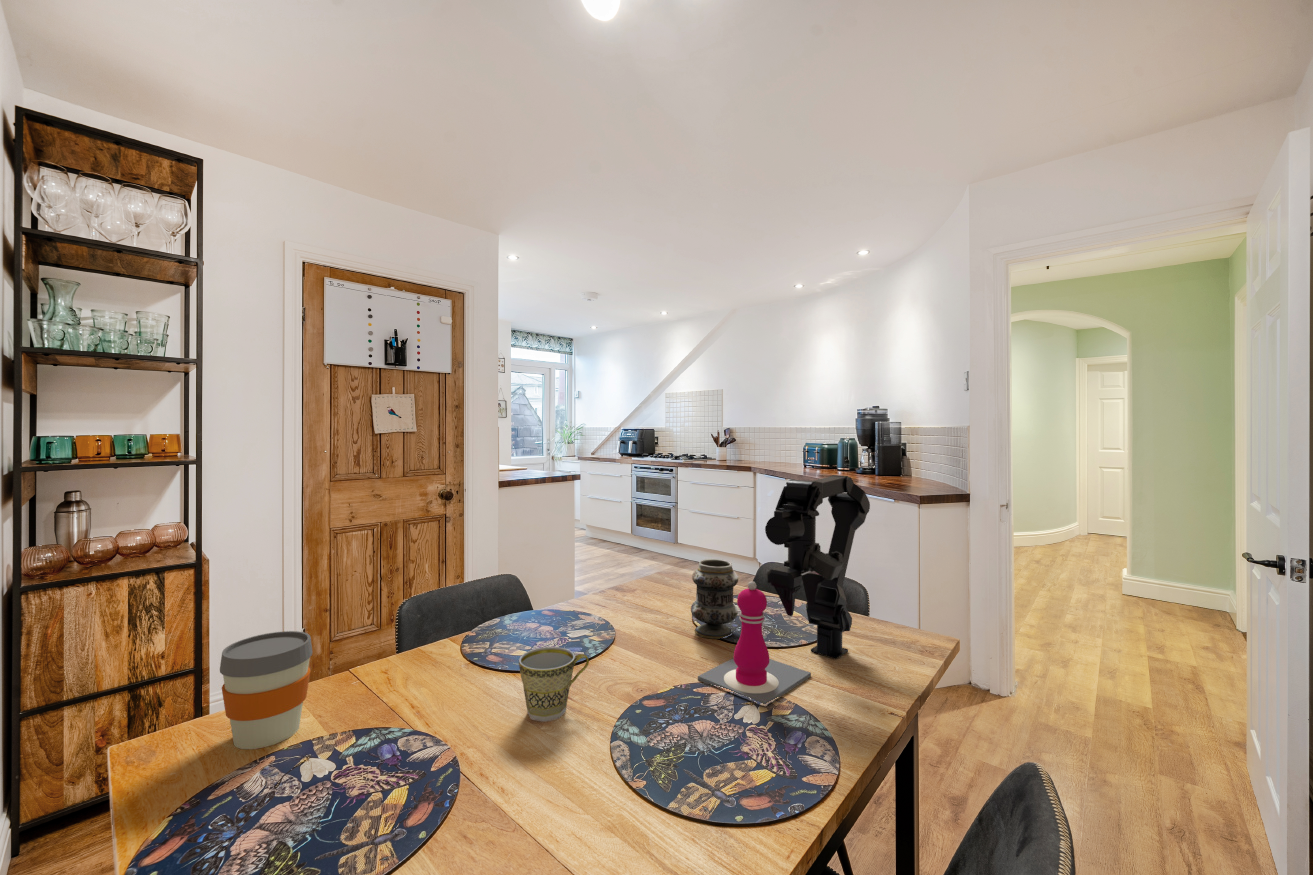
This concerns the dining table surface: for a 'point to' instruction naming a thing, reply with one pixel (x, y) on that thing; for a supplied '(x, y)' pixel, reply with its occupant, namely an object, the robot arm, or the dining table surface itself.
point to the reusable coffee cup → (265, 686)
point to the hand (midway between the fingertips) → (800, 610)
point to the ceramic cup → (548, 680)
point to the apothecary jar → (714, 598)
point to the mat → (776, 685)
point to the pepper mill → (751, 638)
